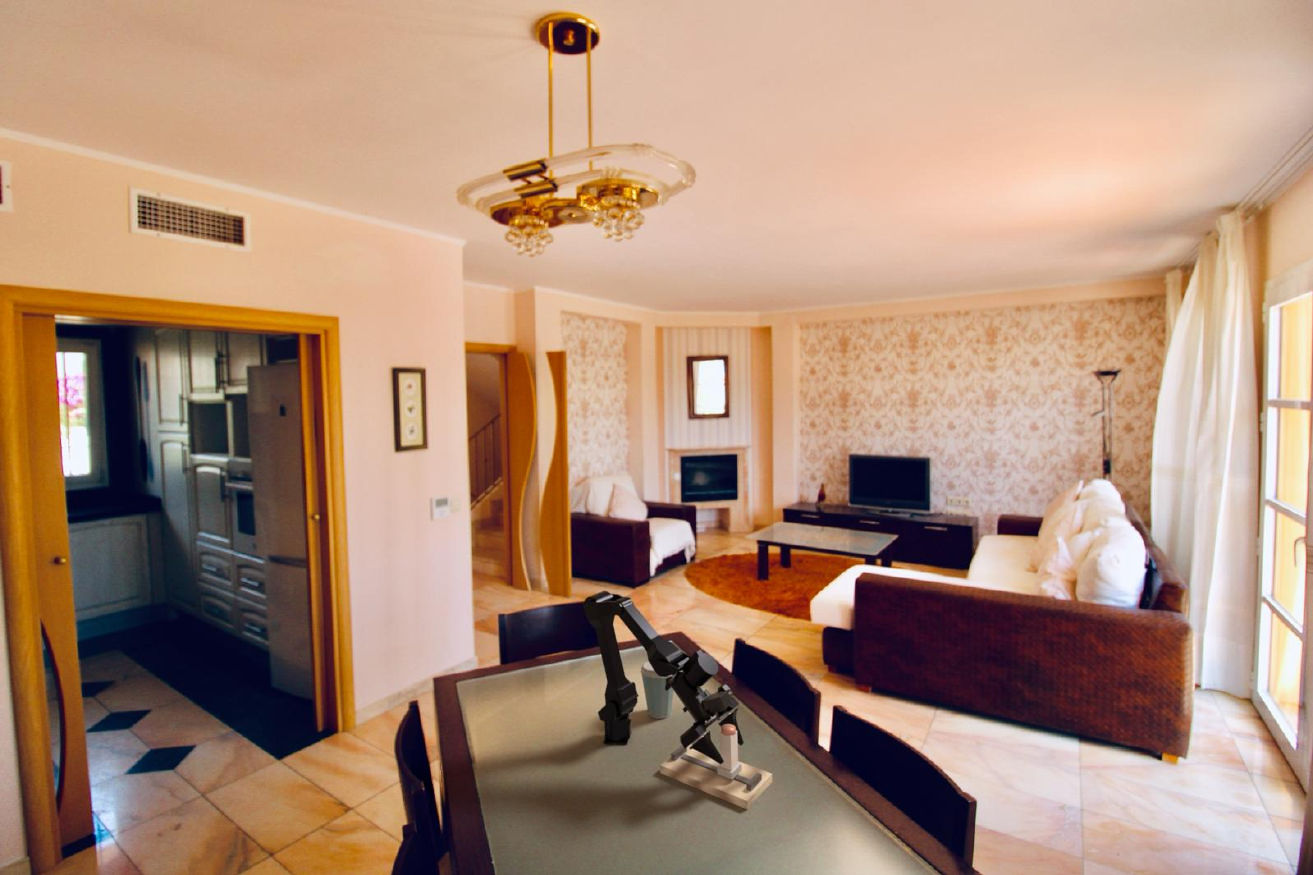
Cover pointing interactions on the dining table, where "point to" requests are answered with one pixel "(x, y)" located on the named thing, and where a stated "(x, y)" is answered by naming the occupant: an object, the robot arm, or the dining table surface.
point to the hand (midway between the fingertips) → (732, 753)
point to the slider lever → (729, 752)
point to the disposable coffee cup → (656, 692)
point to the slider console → (716, 777)
